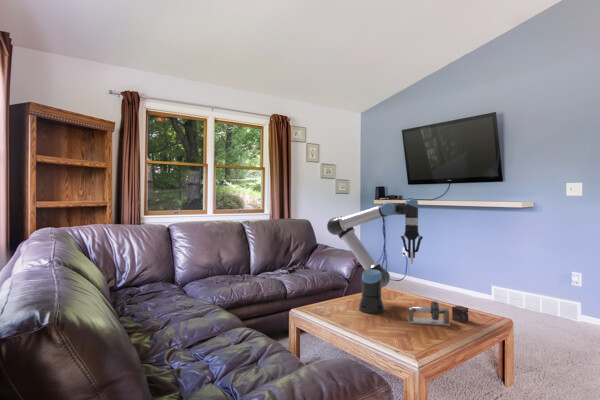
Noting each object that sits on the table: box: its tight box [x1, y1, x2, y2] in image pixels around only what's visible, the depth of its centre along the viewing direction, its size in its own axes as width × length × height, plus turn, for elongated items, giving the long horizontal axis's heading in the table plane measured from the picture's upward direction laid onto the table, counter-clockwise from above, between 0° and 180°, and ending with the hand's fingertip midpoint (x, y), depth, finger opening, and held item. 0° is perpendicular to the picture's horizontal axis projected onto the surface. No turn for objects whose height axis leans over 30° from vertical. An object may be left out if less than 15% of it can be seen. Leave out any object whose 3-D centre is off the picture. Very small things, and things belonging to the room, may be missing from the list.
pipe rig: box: [406, 305, 451, 327], centre depth 182 cm, size 21×7×8 cm, turn 79°
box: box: [451, 305, 469, 324], centre depth 184 cm, size 6×6×7 cm
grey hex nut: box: [430, 300, 440, 320], centre depth 181 cm, size 2×9×9 cm, turn 169°
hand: (411, 263), depth 203 cm, fingers closed
